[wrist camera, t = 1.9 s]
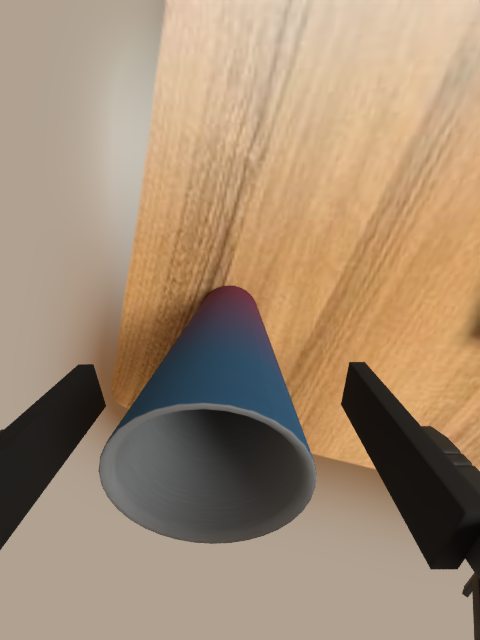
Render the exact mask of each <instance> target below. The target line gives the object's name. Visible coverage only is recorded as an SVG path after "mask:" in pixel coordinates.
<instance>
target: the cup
mask: <svg viewBox="0 0 480 640" xmlns="http://www.w3.org/2000/svg"><path fill="white" fill-rule="evenodd" d="M99 474H100V479H101V484H102V487H103V489H104V491H105V492H106V495H107V497H108V498H109V499H110V500H111V502H112V503H113V504H114V505H115V507H116V508H117V509H118V510H119V511H120V512H122V513H123V514H124V515H125V516H127V517H128V518H129V519H130V520H132V521H134V522H135V523H137V524H139V525H140V526H142V527H144V528H146V529H148V530H151V531H153V532H155V533H158V534H160V535H163V536H167V537H171V538H174V539H178V540H184V541H189V542H196V543H211V544H212V543H232V542H239V541H245V540H250V539H253V538H257V537H261V536H264V535H266V534H269V533H271V532H273V531H276V530H278V529H280V528H281V527H283V526H285V525H286V524H288V523H289V522H291V521H292V520H293V519H294V518H295V517H297V516H298V515H299V514H300V513H301V512H302V511H303V510H304V508H305V507H306V505H307V504H308V503H309V501H310V500H311V497H312V495H313V492H314V489H315V485H316V469H315V465H314V461H313V457H312V455H311V452H310V449H309V446H308V444H307V441H306V438H305V436H304V433H303V430H302V427H301V425H300V422H299V419H298V417H297V414H296V411H295V408H294V406H293V403H292V400H291V398H290V395H289V392H288V389H287V387H286V384H285V381H284V379H283V376H282V373H281V370H280V368H279V365H278V362H277V360H276V357H275V354H274V351H273V349H272V346H271V343H270V341H269V338H268V335H267V332H266V330H265V327H264V324H263V321H262V319H261V316H260V313H259V311H258V308H257V305H256V303H255V301H254V299H253V297H252V296H251V295H250V294H249V293H248V292H247V291H245V290H243V289H242V288H239V287H236V286H223V287H219V288H217V289H215V290H213V291H212V292H211V293H210V294H209V295H208V296H207V297H206V298H205V300H204V301H203V303H202V304H201V306H200V307H199V309H198V310H197V312H196V313H195V314H194V316H193V317H192V319H191V320H190V322H189V323H188V325H187V326H186V328H185V329H184V330H183V332H182V333H181V335H180V336H179V338H178V339H177V341H176V342H175V344H174V345H173V346H172V348H171V349H170V351H169V352H168V354H167V355H166V357H165V358H164V359H163V361H162V362H161V364H160V365H159V367H158V368H157V370H156V371H155V373H154V374H153V375H152V377H151V378H150V380H149V381H148V383H147V384H146V386H145V387H144V389H143V390H142V391H141V393H140V394H139V396H138V397H137V399H136V400H135V402H134V403H133V405H132V406H131V407H130V409H129V410H128V412H127V413H126V415H125V416H124V418H123V419H122V421H121V422H120V424H119V425H118V426H117V428H116V429H115V431H114V432H113V434H112V435H111V436H110V438H109V439H108V441H107V443H106V445H105V447H104V449H103V452H102V454H101V456H100V465H99Z"/></svg>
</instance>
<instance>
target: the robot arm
mask: <svg viewBox="0 0 480 640" xmlns="http://www.w3.org/2000/svg"><path fill="white" fill-rule="evenodd" d="M341 405H342V407H343V409H344V411H345V413H346V414H347V416H348V418H349V420H350V422H351V424H352V425H353V427H354V429H355V431H356V433H357V435H358V436H359V438H360V440H361V442H362V444H363V446H364V447H365V449H366V451H367V453H368V455H369V457H370V458H371V460H372V462H373V464H374V466H375V468H376V469H377V471H378V473H379V475H380V477H381V479H382V480H383V482H384V484H385V486H386V488H387V490H388V491H389V493H390V495H391V497H392V499H393V501H394V502H395V504H396V506H397V508H398V510H399V512H400V513H401V515H402V517H403V519H404V521H405V523H406V524H407V526H408V528H409V530H410V532H411V533H412V535H413V537H414V539H415V541H416V543H417V545H418V546H419V548H420V550H421V552H422V554H423V556H424V557H425V559H426V561H427V563H428V565H429V567H430V569H458V567H459V566H460V565H461V563H462V562H463V561H464V559H466V560H467V562H468V563H469V565H470V566H471V568H472V569H473V571H474V572H475V573H474V574H473V575H472V577H471V578H470V579H469V581H468V582H467V583H466V585H465V586H464V589H463V595H465V596H466V597H468V596H469V595H470V594H471V592H472V591H473V614H474V639H475V640H480V471H479V470H478V469H477V468H476V467H475V466H472V463H471V462H470V461H469V460H468V459H467V458H466V457H465V456H464V455H463V454H461V453H460V450H459V449H458V448H457V447H456V446H455V445H454V444H453V443H452V442H451V441H450V440H449V439H448V438H447V437H446V436H444V435H443V434H441V433H440V432H438V431H437V430H436V429H434V428H433V427H431V426H420V425H419V423H418V422H417V421H416V420H415V419H414V418H413V417H412V416H411V414H410V413H409V412H408V411H407V410H406V409H405V408H404V406H403V405H402V404H401V403H400V402H399V401H398V400H397V398H396V397H395V396H394V395H393V394H392V393H391V392H390V390H389V389H388V388H387V387H386V386H385V385H384V384H383V382H382V381H381V380H380V379H379V378H378V377H377V376H376V374H375V373H374V372H373V371H372V370H371V369H370V368H369V367H368V365H367V364H366V363H365V362H349V367H348V372H347V377H346V382H345V387H344V392H343V397H342V402H341ZM105 407H106V404H105V401H104V398H103V394H102V391H101V388H100V385H99V381H98V379H97V375H96V372H95V368H94V365H92V364H88V365H78V366H76V367H75V368H74V369H73V370H72V371H71V372H70V373H68V374H67V375H66V376H65V377H64V378H63V379H62V380H61V381H59V382H58V383H57V384H56V385H55V386H54V387H52V388H51V389H50V390H49V391H48V392H47V393H46V394H45V395H43V396H42V397H41V398H40V399H39V400H38V401H36V402H35V403H34V404H33V405H32V406H31V407H30V408H29V409H27V410H26V411H25V412H24V413H23V414H22V415H20V416H19V417H18V418H17V419H16V420H15V421H14V422H13V423H11V424H10V425H9V426H8V427H7V428H6V429H4V430H0V550H1V548H2V547H3V546H4V544H5V543H6V541H7V540H8V539H9V537H10V536H11V535H12V533H13V532H14V531H15V529H16V528H17V526H18V525H19V524H20V522H21V521H22V520H23V518H24V517H25V515H26V514H27V513H28V512H29V510H30V509H31V507H32V506H33V505H34V503H35V502H36V501H37V499H38V498H39V497H40V495H41V494H42V493H43V491H44V490H45V488H46V487H47V486H48V484H49V483H50V482H51V480H52V479H53V478H54V476H55V475H56V473H57V472H58V471H59V469H60V468H61V467H62V465H63V464H64V462H65V461H66V460H67V459H68V457H69V456H70V454H71V453H72V452H73V450H74V449H75V448H76V446H77V445H78V444H79V442H80V441H81V439H82V438H83V437H84V435H85V434H86V433H87V431H88V430H89V429H90V427H91V426H92V425H93V423H94V422H95V420H96V419H97V418H98V416H99V415H100V414H101V412H102V411H103V410H104V408H105Z"/></svg>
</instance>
